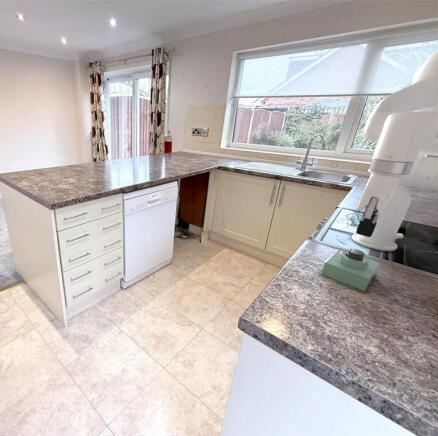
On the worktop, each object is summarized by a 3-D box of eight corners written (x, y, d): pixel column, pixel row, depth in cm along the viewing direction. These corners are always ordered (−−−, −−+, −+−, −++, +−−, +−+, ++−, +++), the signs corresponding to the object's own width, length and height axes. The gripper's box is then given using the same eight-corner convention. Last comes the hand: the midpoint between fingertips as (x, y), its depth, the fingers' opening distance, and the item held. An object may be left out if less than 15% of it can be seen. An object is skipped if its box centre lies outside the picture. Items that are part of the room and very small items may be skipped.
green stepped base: (334, 260, 79) (340, 243, 76) (374, 274, 71) (382, 257, 69) (321, 273, 71) (327, 256, 69) (364, 291, 64) (372, 272, 62)
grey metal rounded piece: (348, 253, 72) (350, 247, 71) (363, 258, 69) (366, 252, 68) (344, 257, 70) (347, 251, 69) (360, 262, 67) (363, 256, 66)
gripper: (376, 161, 67) (354, 223, 74) (362, 168, 58) (338, 237, 65) (415, 166, 61) (387, 231, 69) (406, 174, 53) (375, 248, 60)
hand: (363, 234), depth 67 cm, fingers closed
